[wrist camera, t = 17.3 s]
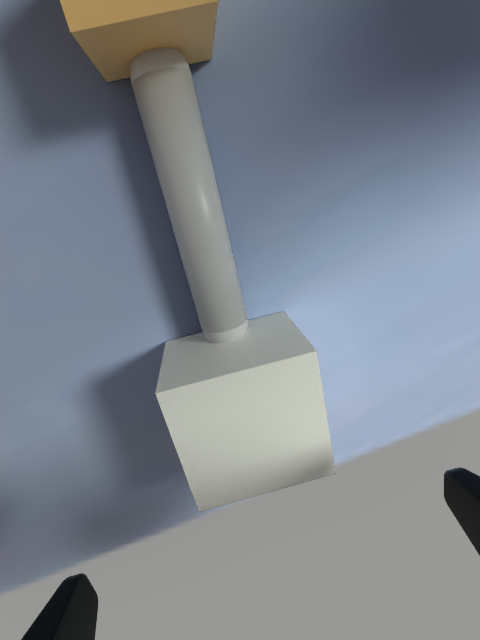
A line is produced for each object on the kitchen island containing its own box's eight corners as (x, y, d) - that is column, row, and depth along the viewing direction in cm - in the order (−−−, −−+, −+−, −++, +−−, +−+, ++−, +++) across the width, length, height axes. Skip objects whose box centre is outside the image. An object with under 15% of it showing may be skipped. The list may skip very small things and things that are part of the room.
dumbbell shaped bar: (215, -62, 9) (228, -221, 5) (306, 428, 14) (338, 496, 11) (42, -27, 8) (-53, -168, 5) (204, 456, 14) (207, 533, 11)
